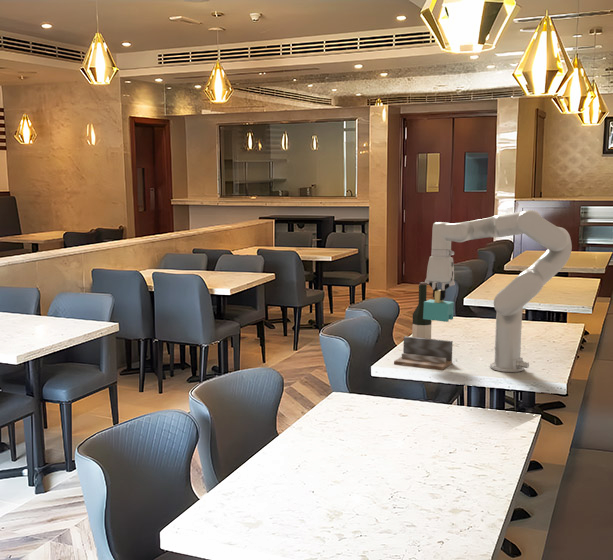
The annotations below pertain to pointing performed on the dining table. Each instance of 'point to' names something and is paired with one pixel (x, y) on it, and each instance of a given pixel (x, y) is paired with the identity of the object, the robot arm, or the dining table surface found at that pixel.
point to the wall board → (426, 353)
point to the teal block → (438, 309)
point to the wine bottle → (421, 316)
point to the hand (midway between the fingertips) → (438, 299)
